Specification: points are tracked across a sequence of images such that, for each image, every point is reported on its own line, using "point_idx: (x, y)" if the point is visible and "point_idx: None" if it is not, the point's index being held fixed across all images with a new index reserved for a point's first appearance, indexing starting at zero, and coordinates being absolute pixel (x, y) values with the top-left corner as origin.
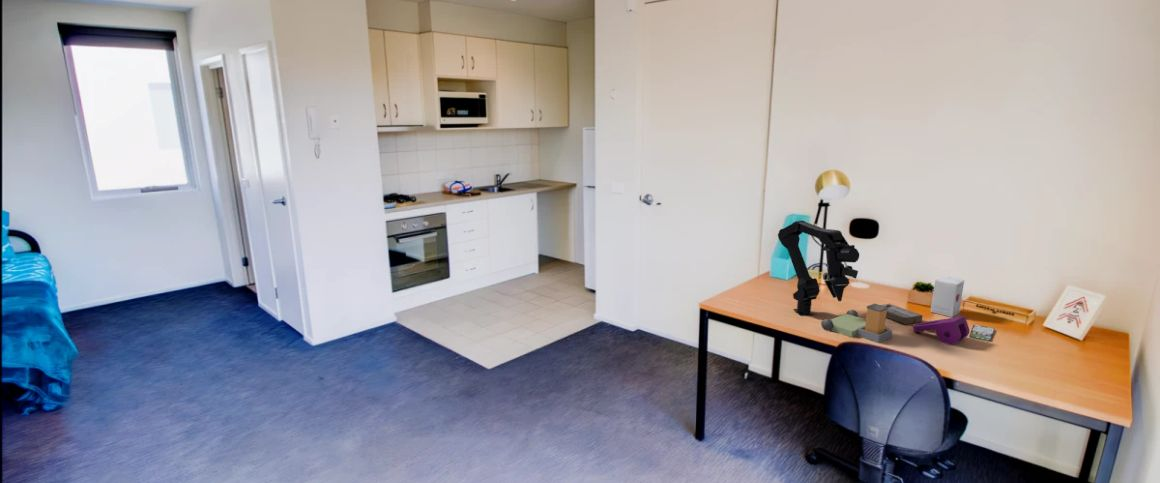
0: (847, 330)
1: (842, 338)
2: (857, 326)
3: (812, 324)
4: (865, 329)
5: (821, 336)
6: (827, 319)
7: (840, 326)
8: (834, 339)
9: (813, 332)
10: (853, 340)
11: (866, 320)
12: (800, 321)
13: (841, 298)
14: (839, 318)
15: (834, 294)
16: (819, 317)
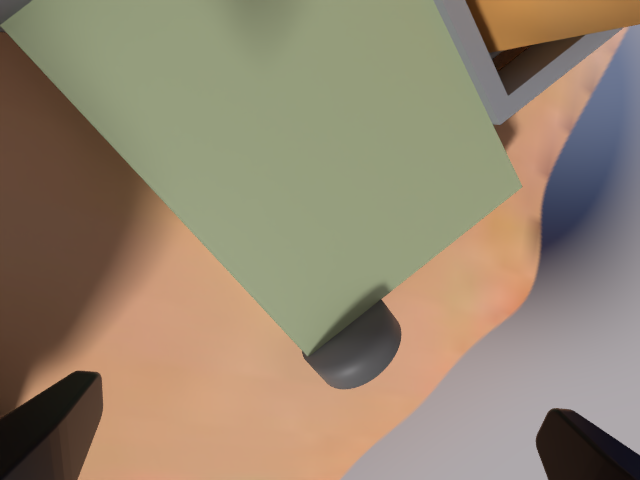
0: (487, 211)
1: (494, 247)
2: (428, 85)
3: (230, 395)
4: (519, 44)
5: (448, 370)
6: (368, 366)
7: (415, 247)
8: (500, 303)
9: (383, 407)
10: (534, 182)
11: (606, 28)
12: (169, 468)
13: (622, 452)
14: (205, 190)
15: (69, 450)
16: (29, 313)
